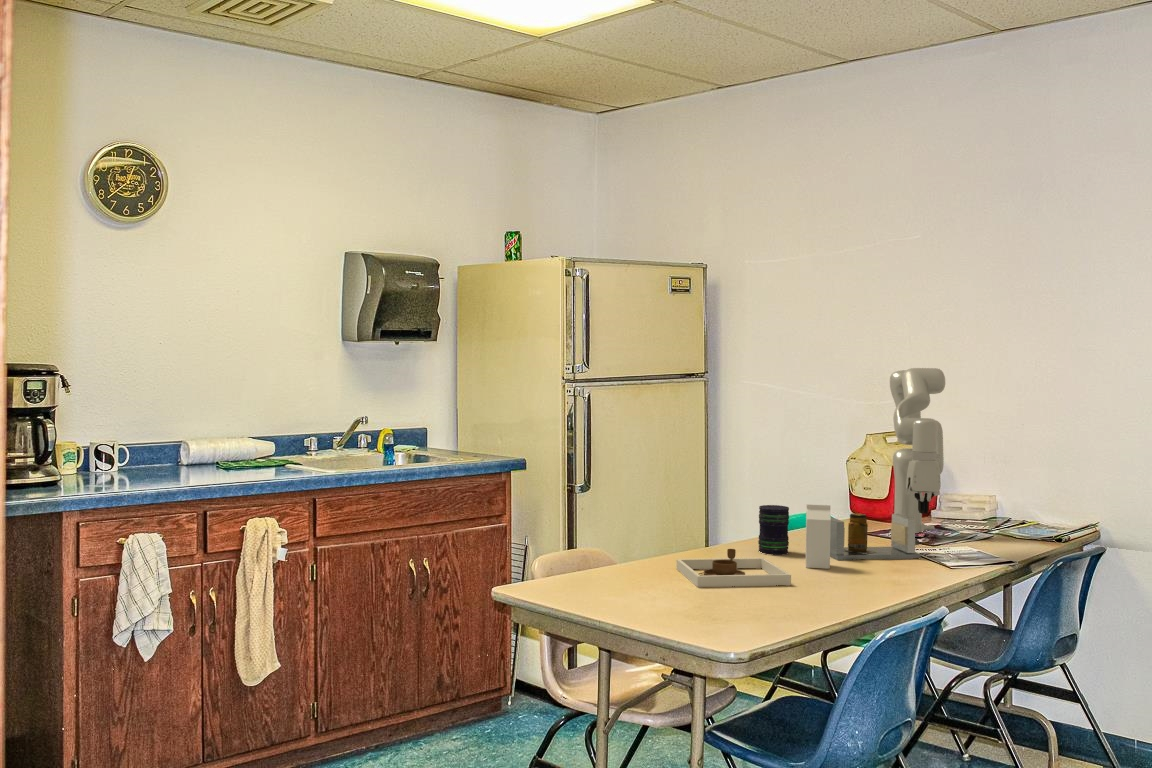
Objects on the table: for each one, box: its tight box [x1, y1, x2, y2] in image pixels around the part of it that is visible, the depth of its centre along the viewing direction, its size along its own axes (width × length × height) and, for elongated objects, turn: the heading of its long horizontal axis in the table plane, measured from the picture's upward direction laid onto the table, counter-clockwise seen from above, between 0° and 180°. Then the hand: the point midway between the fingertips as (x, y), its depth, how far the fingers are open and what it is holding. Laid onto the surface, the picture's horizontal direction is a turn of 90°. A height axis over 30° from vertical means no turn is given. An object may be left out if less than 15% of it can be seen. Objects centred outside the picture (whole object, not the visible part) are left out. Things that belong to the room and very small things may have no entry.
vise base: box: [830, 516, 922, 561], centre depth 344 cm, size 28×14×12 cm, turn 98°
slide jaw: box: [890, 513, 920, 553], centre depth 346 cm, size 7×12×11 cm, turn 8°
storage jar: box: [757, 504, 790, 556], centre depth 348 cm, size 10×10×15 cm
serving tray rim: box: [676, 557, 792, 588], centre depth 308 cm, size 27×25×3 cm
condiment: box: [844, 512, 876, 554], centre depth 343 cm, size 7×8×12 cm
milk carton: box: [805, 504, 832, 570], centre depth 325 cm, size 7×7×19 cm
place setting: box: [698, 548, 746, 576], centre depth 308 cm, size 18×20×6 cm
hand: (923, 513), depth 346 cm, fingers closed
